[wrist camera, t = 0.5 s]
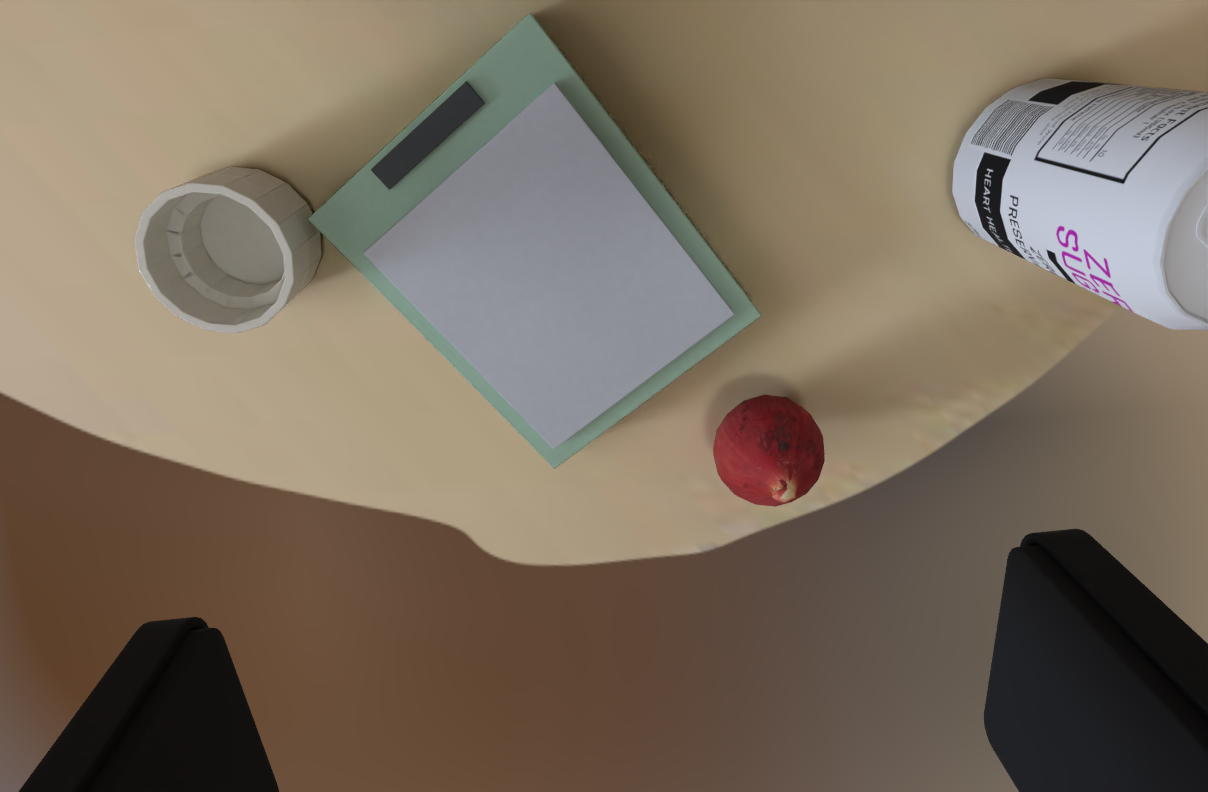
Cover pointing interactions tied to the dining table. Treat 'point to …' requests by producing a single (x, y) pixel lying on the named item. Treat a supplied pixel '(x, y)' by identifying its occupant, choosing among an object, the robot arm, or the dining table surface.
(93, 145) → the dining table surface
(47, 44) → the dining table surface
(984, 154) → the supplement can
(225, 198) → the bowl
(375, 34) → the dining table surface
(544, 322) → the scale
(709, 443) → the dining table surface
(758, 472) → the onion
